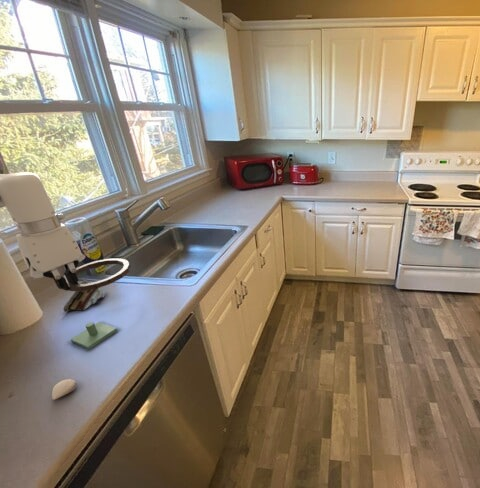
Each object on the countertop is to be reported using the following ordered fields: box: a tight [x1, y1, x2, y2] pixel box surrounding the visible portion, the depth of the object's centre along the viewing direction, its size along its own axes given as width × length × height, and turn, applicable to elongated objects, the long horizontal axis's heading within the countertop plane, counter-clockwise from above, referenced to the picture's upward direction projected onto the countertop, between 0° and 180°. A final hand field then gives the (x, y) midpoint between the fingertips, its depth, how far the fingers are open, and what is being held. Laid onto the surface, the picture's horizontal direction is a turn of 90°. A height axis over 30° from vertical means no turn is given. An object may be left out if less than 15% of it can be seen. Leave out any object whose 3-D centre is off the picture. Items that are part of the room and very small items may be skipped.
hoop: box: [63, 257, 132, 292], centre depth 82 cm, size 16×16×1 cm
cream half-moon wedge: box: [51, 378, 77, 400], centre depth 66 cm, size 4×5×2 cm
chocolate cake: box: [62, 278, 106, 313], centre depth 98 cm, size 10×7×12 cm
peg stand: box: [70, 321, 118, 350], centre depth 82 cm, size 8×8×4 cm
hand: (69, 286), depth 76 cm, fingers closed on hoop, 1 cm apart
